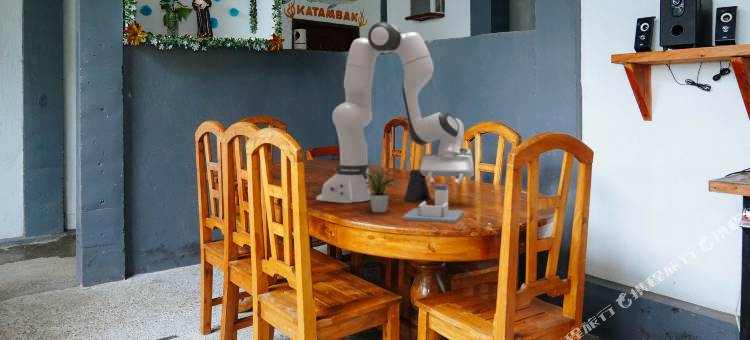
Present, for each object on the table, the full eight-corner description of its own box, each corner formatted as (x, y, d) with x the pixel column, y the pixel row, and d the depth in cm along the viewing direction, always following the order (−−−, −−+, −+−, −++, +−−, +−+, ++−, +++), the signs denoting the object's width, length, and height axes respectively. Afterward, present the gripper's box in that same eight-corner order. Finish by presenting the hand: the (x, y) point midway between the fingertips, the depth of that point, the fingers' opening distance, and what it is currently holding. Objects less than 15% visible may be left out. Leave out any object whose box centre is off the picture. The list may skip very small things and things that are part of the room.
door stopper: (413, 202, 221) (413, 172, 219) (404, 200, 226) (404, 170, 224) (431, 199, 226) (431, 170, 224) (421, 197, 231) (421, 168, 229)
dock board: (402, 219, 190) (402, 206, 190) (413, 211, 204) (413, 198, 204) (455, 222, 185) (455, 209, 184) (463, 213, 199) (463, 201, 198)
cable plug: (435, 210, 205) (435, 185, 204) (437, 208, 209) (437, 184, 208) (445, 210, 204) (446, 186, 203) (448, 208, 208) (448, 184, 207)
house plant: (379, 217, 194) (378, 170, 192) (350, 212, 203) (349, 167, 201) (405, 211, 204) (405, 166, 202) (377, 206, 214) (377, 163, 212)
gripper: (421, 149, 218) (415, 178, 210) (474, 150, 212) (470, 179, 204) (424, 159, 223) (418, 188, 215) (476, 160, 216) (472, 189, 209)
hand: (444, 184), depth 209 cm, fingers open, 8 cm apart
